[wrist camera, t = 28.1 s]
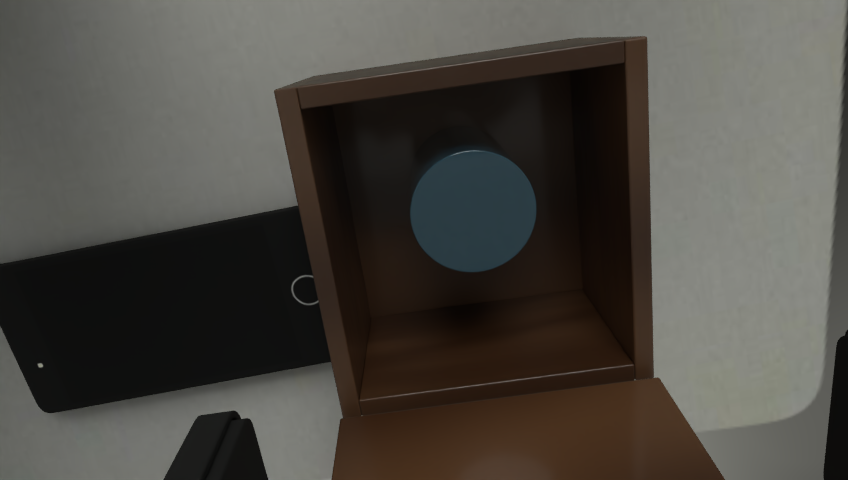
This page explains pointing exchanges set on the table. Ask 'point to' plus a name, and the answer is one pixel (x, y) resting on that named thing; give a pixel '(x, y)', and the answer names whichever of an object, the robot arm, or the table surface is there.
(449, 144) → the blue glossy cylinder
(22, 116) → the table surface
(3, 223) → the table surface
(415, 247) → the wooden box
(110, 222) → the table surface
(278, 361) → the cell phone
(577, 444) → the lid
